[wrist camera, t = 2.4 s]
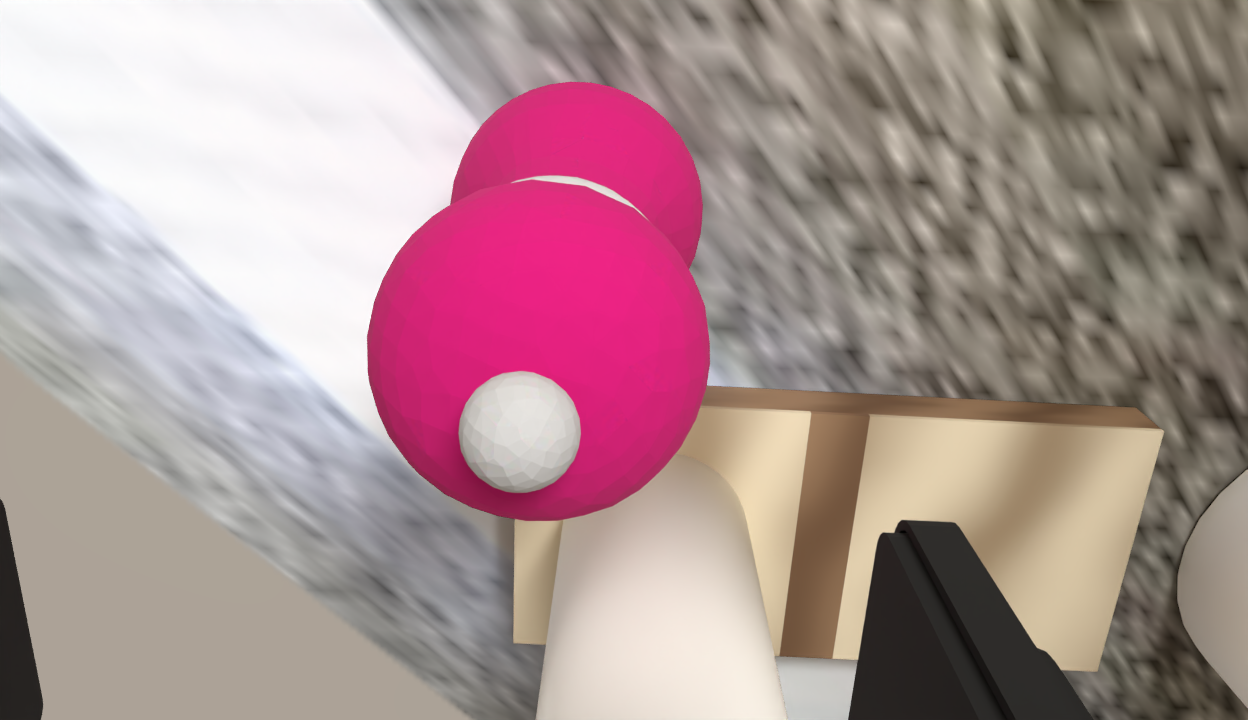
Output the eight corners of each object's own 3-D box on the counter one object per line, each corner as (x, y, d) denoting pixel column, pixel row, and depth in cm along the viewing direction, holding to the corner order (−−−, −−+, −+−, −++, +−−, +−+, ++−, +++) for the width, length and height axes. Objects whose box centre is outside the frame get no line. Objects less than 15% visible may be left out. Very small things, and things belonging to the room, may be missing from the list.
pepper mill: (725, 111, 31) (860, 299, 12) (654, 314, 33) (675, 724, 15) (509, 39, 30) (304, 120, 12) (452, 251, 33) (209, 599, 14)
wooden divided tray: (1135, 407, 35) (1164, 431, 33) (1074, 638, 38) (1097, 671, 36) (522, 376, 34) (515, 398, 32) (519, 610, 38) (513, 643, 36)
